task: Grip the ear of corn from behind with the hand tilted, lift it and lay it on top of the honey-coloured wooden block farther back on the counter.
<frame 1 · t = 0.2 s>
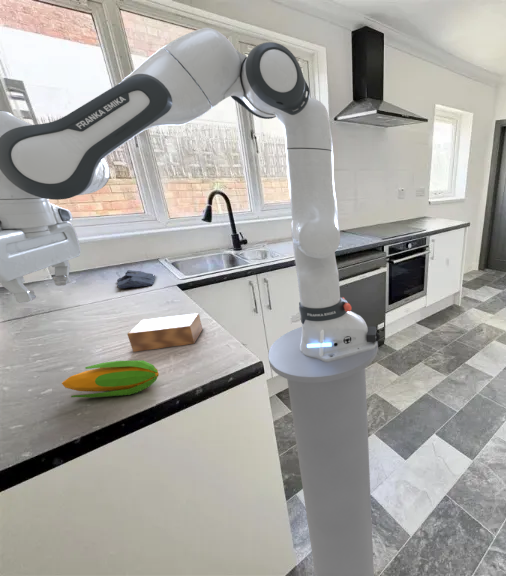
hand: (46, 292, 57), 28 cm above the countertop, tool pointing down, fingers open, 8 cm apart
corn: (114, 392, 73), on the countertop
block: (170, 339, 96), on the countertop
dark slate chunk: (135, 283, 152), on the countertop
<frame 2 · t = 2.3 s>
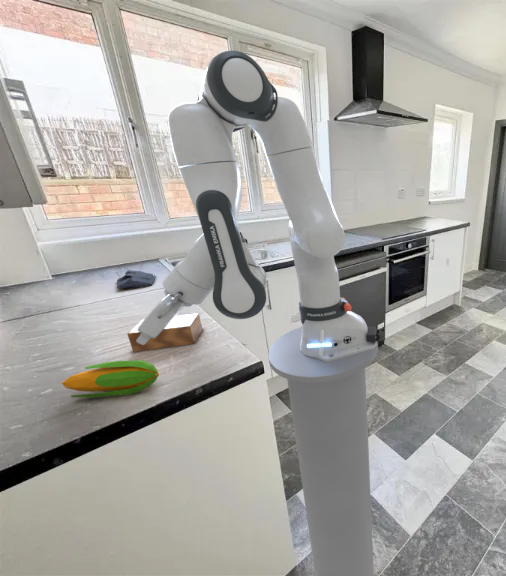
hand: (150, 332, 70), 14 cm above the countertop, tool tilted 45°, fingers open, 8 cm apart
nothing on the countertop moved.
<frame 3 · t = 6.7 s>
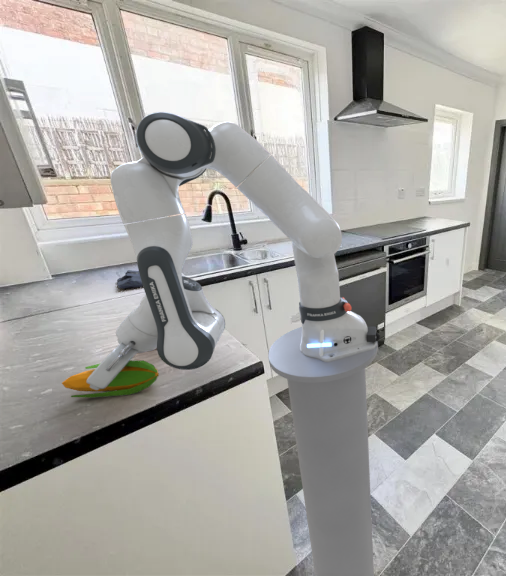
hand: (104, 376, 71), 4 cm above the countertop, tool tilted 45°, fingers closed on corn, 6 cm apart
corn: (114, 392, 73), on the countertop, touching gripper
everything else where it was.
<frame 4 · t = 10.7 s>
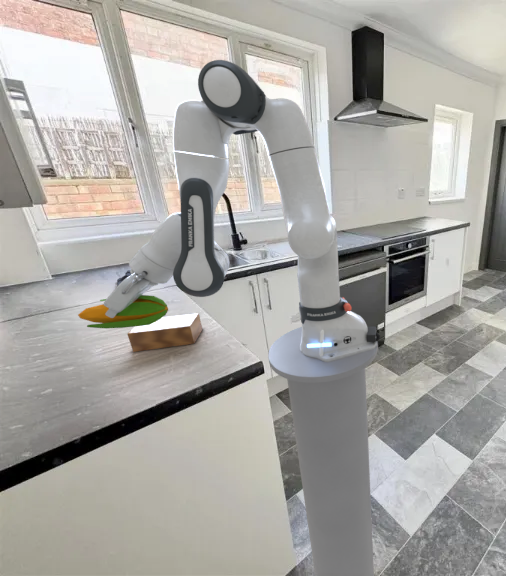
hand: (118, 309, 76), 17 cm above the countertop, tool tilted 45°, fingers closed on corn, 6 cm apart
corn: (126, 325, 78), point 13 cm above the countertop, touching gripper
everything else where it was.
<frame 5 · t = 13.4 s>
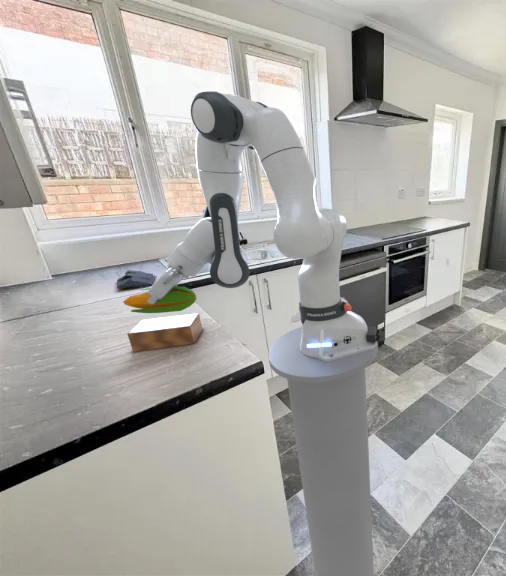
hand: (156, 297, 92), 14 cm above the countertop, tool tilted 45°, fingers closed on corn, 6 cm apart
corn: (162, 311, 93), point 10 cm above the countertop, touching gripper
everything else where it was.
when the fingers open (10 cm above the countertop, at t = 15.2 s): corn stays where it is, resting on block.
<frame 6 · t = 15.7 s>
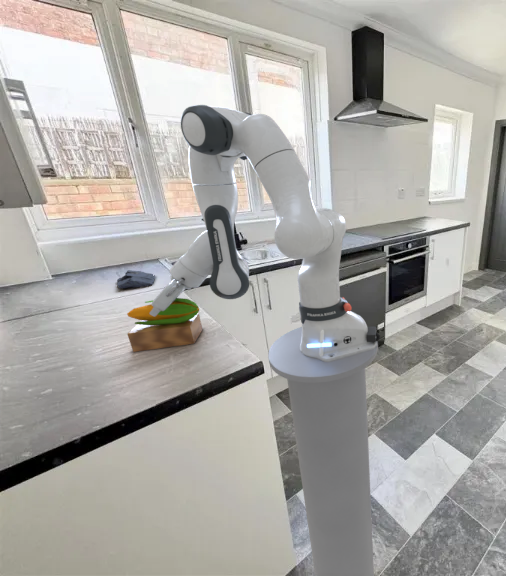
hand: (159, 308, 93), 11 cm above the countertop, tool tilted 45°, fingers open, 8 cm apart
corn: (165, 323, 95), point 6 cm above the countertop, touching block
everything else where it was.
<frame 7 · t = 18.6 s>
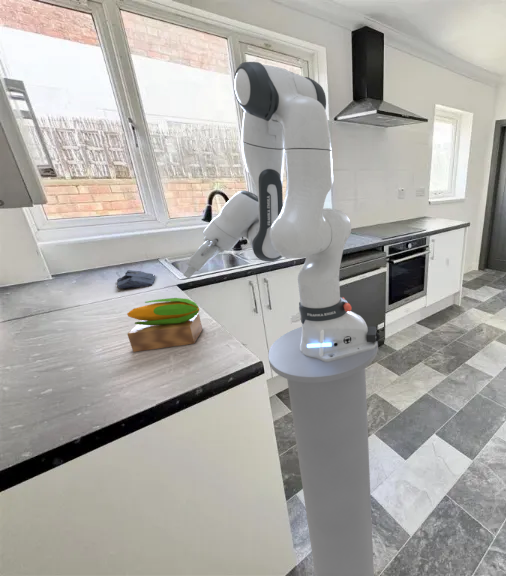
hand: (191, 271, 92), 21 cm above the countertop, tool tilted 45°, fingers open, 8 cm apart
nothing on the countertop moved.
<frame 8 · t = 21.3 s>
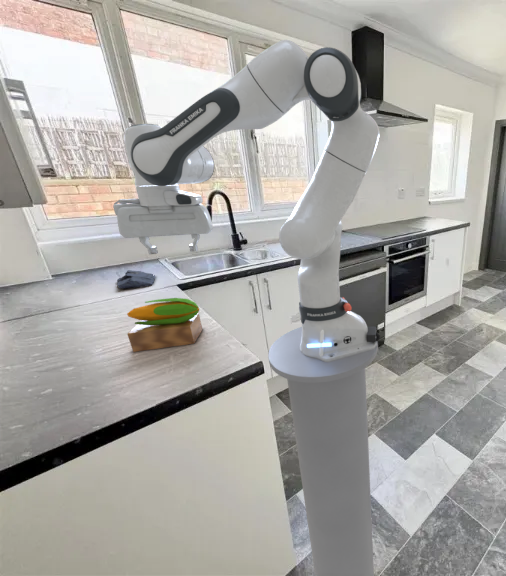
hand: (174, 252, 81), 29 cm above the countertop, tool pointing down, fingers open, 8 cm apart
nothing on the countertop moved.
at the end: corn inside the target area on the block (0.0 cm from its centre), point 5.8 cm above the block's base; corn touching block; the gripper is holding nothing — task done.
